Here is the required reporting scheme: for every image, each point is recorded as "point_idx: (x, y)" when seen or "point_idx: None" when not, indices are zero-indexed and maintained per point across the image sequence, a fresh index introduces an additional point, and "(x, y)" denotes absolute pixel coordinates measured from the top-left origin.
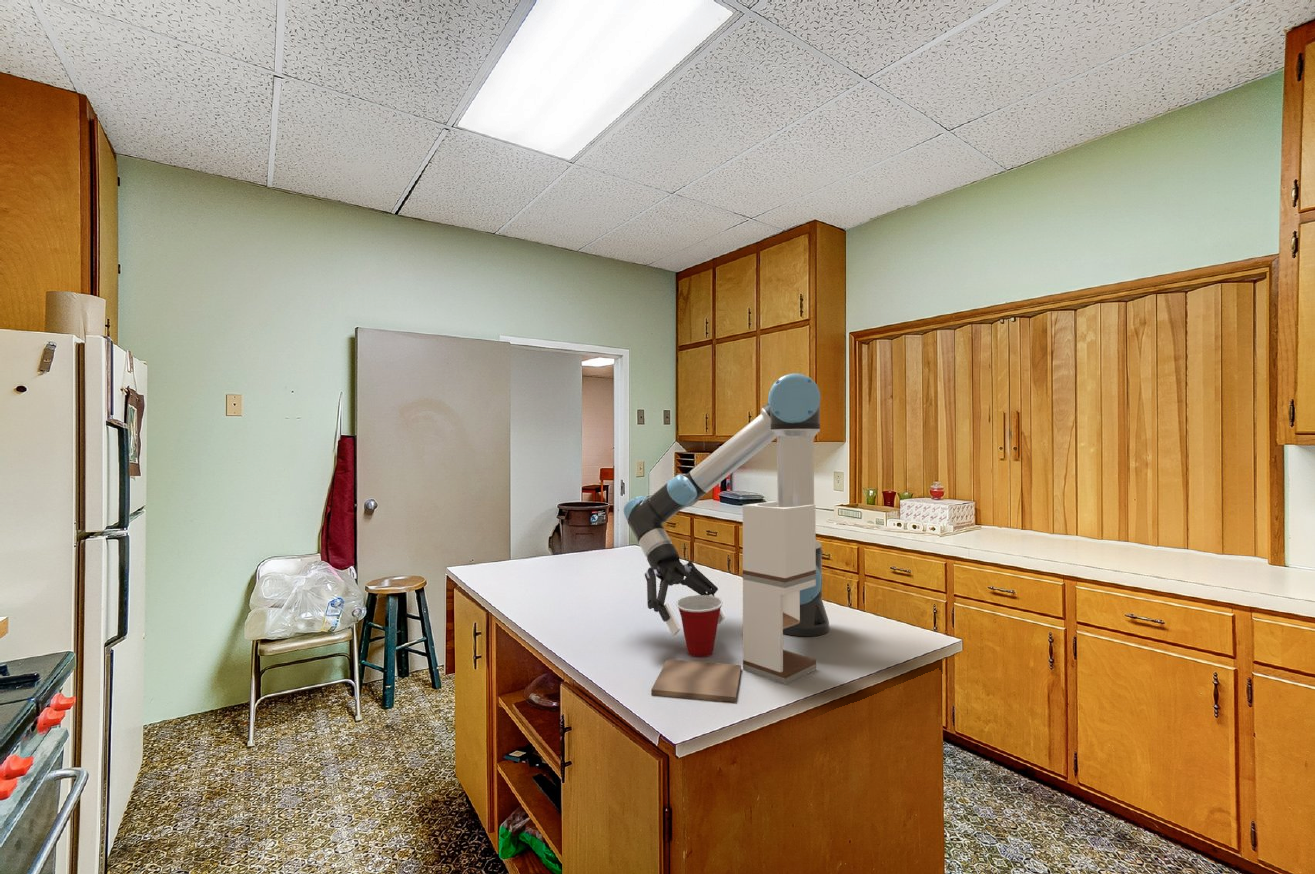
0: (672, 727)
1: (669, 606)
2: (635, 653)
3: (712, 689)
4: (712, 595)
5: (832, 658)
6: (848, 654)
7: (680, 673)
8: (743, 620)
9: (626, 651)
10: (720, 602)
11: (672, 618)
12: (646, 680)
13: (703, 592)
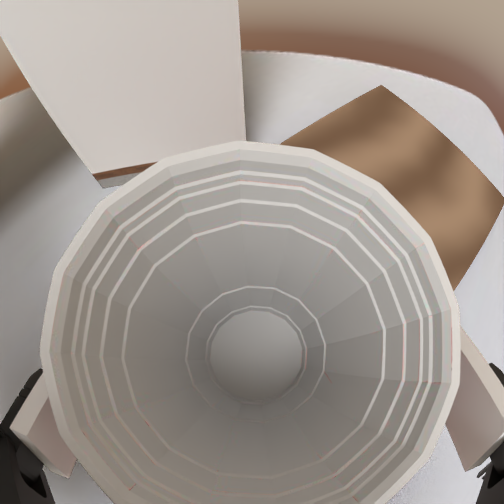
0: (486, 117)
1: (499, 406)
2: (432, 463)
3: (406, 121)
4: (15, 419)
5: (54, 126)
6: (26, 130)
7: (436, 220)
8: (240, 43)
9: (438, 486)
10: (108, 226)
11: (474, 346)
12: (493, 269)
13: (37, 499)
